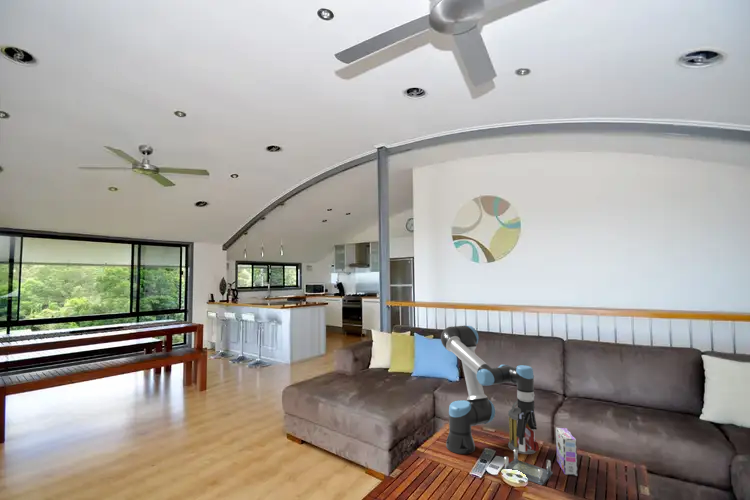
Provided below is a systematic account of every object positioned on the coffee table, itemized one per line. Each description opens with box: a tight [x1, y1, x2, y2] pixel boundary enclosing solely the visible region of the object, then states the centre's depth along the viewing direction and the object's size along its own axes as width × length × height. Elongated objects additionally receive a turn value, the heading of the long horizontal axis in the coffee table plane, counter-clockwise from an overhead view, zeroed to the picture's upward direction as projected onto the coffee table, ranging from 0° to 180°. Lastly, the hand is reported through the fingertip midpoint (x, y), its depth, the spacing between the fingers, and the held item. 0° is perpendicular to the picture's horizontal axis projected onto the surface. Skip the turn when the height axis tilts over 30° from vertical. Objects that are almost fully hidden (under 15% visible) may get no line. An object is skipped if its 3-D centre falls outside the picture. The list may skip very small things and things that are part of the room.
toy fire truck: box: [517, 426, 540, 452], centre depth 175 cm, size 7×12×10 cm, turn 1°
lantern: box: [507, 400, 537, 455], centre depth 199 cm, size 14×14×25 cm
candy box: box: [554, 427, 578, 477], centre depth 178 cm, size 14×6×16 cm, turn 168°
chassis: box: [502, 449, 554, 486], centre depth 174 cm, size 18×13×6 cm
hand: (527, 447), depth 174 cm, fingers closed on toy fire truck, 11 cm apart
